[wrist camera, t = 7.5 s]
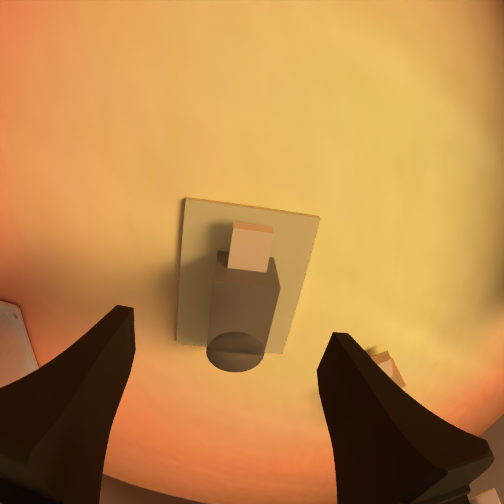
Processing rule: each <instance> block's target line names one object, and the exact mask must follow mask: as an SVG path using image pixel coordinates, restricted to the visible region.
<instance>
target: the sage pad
mask: <svg viewBox="0 0 504 504" xmlns="http://www.w3.org/2000/svg"><path fill="white" fill-rule="evenodd" d="M233 221H235V222H242V223H250V224H257V225H265V226H272V227H273V230H274V238H273V243H272V247H271V252H270V257H273V258H274V260H275V264H276V269H277V274H278V278H279V283H280V287H281V289H280V293H279V297H278V301H277V305H276V309H275V313H274V317H273V321H272V325H271V329H270V333H269V337H268V341H267V345H266V348H265V352H264V353H274V354H282V353H283V350H284V347H285V343H286V340H287V337H288V334H289V330H290V327H291V323H292V320H293V317H294V313H295V310H296V306H297V303H298V299H299V296H300V292H301V289H302V285H303V282H304V278H305V275H306V271H307V267H308V264H309V260H310V256H311V252H312V249H313V245H314V241H315V237H316V233H317V229H318V225H319V221H320V218H319V216H313V215H307V214H301V213H295V212H288V211H282V210H275V209H268V208H261V207H254V206H247V205H240V204H233V203H226V202H218V201H210V200H203V199H195V198H186V202H185V212H184V223H183V235H182V248H181V262H180V277H179V295H178V316H177V343H179V344H187V345H194V346H202V347H207V339H208V329H209V319H210V310H211V302H212V293H213V285H214V276H215V268H216V260H217V252H218V251H225V252H229V248H230V241H231V234H232V228H233Z"/></svg>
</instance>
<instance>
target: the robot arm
mask: <svg viewBox="0 0 504 504" xmlns="http://www.w3.org/2000/svg"><path fill="white" fill-rule="evenodd" d="M135 350H136V348H135V332H134V309H133V308H131V307H126V306H120V305H117V306H115V307H114V308H113V309H112V310H111V311H110V312H109V313H108V314H107V315H105V316H104V317H103V318H102V319H101V320H100V321H99V322H98V323H97V324H96V325H95V326H94V327H92V328H91V329H90V330H89V331H88V332H87V333H86V334H84V335H83V336H82V337H81V338H80V339H79V340H77V341H76V342H75V343H74V344H72V345H71V346H70V347H69V348H67V349H66V350H65V351H64V352H62V353H61V354H60V355H58V356H57V357H56V358H54V359H53V360H51V361H50V362H48V363H47V364H45V365H44V366H42V367H40V368H39V367H38V364H37V361H36V358H35V355H34V353H33V350H32V347H31V344H30V341H29V337H28V334H27V331H26V328H25V324H24V321H23V317H22V314H21V310H20V308H19V307H18V306H17V305H15V304H11V303H7V302H4V301H0V504H99V498H100V488H101V480H102V473H103V466H104V460H105V454H106V449H107V444H108V439H109V434H110V430H111V426H112V423H113V420H114V417H115V414H116V411H117V408H118V406H119V403H120V400H121V397H122V394H123V392H124V389H125V386H126V383H127V381H128V378H129V375H130V372H131V367H132V363H133V359H134V355H135ZM317 377H318V387H319V394H320V398H321V402H322V406H323V410H324V414H325V418H326V422H327V426H328V430H329V434H330V438H331V442H332V447H333V453H334V462H335V471H336V484H337V504H501V503H500V500H499V498H498V495H497V493H496V490H495V489H494V488H492V489H490V490H488V491H486V492H483V493H481V494H479V495H477V496H475V497H473V498H471V499H470V500H468V497H467V494H469V493H470V491H471V490H470V487H469V485H468V484H470V483H471V482H472V481H473V480H475V479H476V478H477V477H478V476H480V475H481V474H482V473H483V472H484V471H485V470H487V469H488V468H489V467H490V465H491V464H492V463H493V461H494V455H493V453H492V451H491V449H490V447H489V445H488V443H487V441H486V440H484V439H481V438H479V437H477V436H474V435H472V434H470V433H467V432H465V431H463V430H461V429H459V428H457V427H455V426H453V425H451V424H450V423H448V422H446V421H445V420H443V419H441V418H440V417H438V416H437V415H435V414H434V413H432V412H431V411H429V410H428V409H426V408H425V407H423V406H422V405H421V404H419V403H418V402H417V401H416V400H414V399H413V398H412V397H411V396H409V395H408V394H407V393H406V392H405V391H404V390H402V389H401V388H400V387H399V386H398V385H397V384H396V383H395V382H394V381H393V380H392V379H391V378H390V377H389V376H388V375H387V374H386V373H385V372H384V371H383V370H382V369H381V368H380V367H379V366H378V365H377V364H376V363H375V362H374V361H373V360H372V358H371V357H370V356H369V355H368V354H367V353H366V352H365V351H364V350H363V349H362V347H361V346H360V345H359V344H358V343H357V342H356V341H355V340H354V339H353V338H352V337H351V336H350V335H349V334H348V333H337V332H333V333H332V336H331V338H330V341H329V343H328V345H327V348H326V350H325V353H324V355H323V357H322V359H321V362H320V364H319V366H318V369H317Z"/></svg>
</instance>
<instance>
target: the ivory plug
mask: <svg viewBox="0 0 504 504" xmlns="http://www.w3.org/2000/svg"><path fill="white" fill-rule="evenodd" d="M371 358H372V360H373V361H374V362H375V363H376V364H377V365H378V366H379V367H380V368H381V369H382V370H383V371H384V372H385V373H386V374H387V375H388V376H389V377H390V378H391V379H392V380H393V381H394V382H395V383H396V384H397V385H398V386H399V387H400V388H401V389H402V390H404V391H405V392H406V385H405V383H404V381H403V379H402V376H401V374H400V372H399V370H398V368H397V366H396V364H395V362H394V360H393V358H391V357H390V355H389V353H388V351H385V352H383V353H380V354H378V355H375V356H372V357H371Z"/></svg>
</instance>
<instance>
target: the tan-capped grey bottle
mask: <svg viewBox="0 0 504 504" xmlns="http://www.w3.org/2000/svg"><path fill="white" fill-rule="evenodd" d="M273 238H274V230H273V227H272V226H265V225H257V224H250V223H242V222H235V221H233V228H232V234H231V241H230V248H229V252H225V251H218V252H217V260H216V268H215V276H214V285H213V293H212V302H211V310H210V319H209V329H208V339H207V349H206V353H207V357H208V359H209V361H210V362H211V363H212V364H213V365H214V366H215V367H217V368H219V369H221V370H224V371H228V372H243V371H247V370H250V369H252V368H254V367H255V366H257V365H258V364H259V363H260V362H261V360H262V359H263V356H264V352H265V348H266V345H267V341H268V337H269V333H270V329H271V325H272V321H273V317H274V313H275V309H276V305H277V301H278V297H279V293H280V289H281V287H280V283H279V278H278V274H277V269H276V264H275V260H274V258H273V257H270V252H271V247H272V243H273Z"/></svg>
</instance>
